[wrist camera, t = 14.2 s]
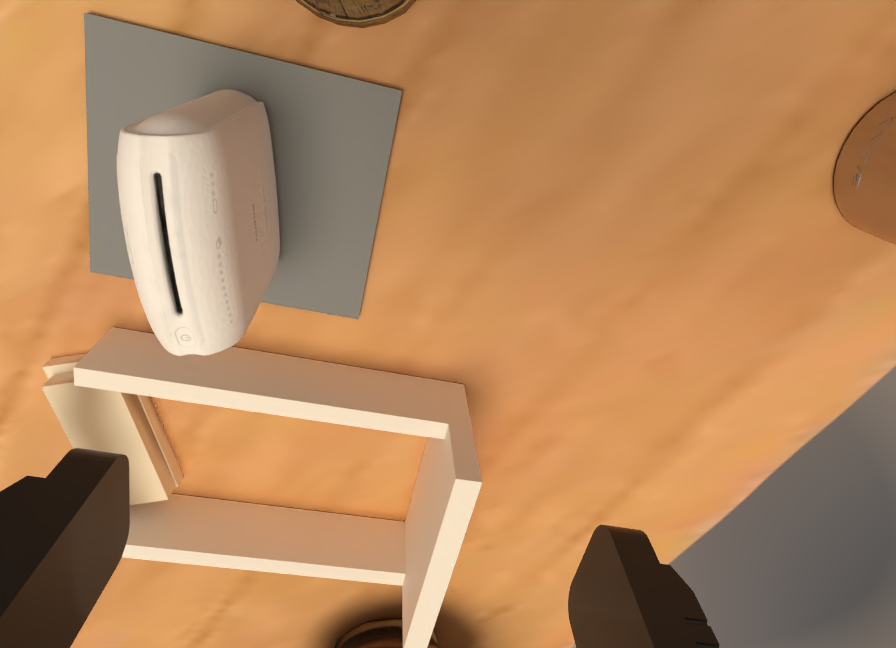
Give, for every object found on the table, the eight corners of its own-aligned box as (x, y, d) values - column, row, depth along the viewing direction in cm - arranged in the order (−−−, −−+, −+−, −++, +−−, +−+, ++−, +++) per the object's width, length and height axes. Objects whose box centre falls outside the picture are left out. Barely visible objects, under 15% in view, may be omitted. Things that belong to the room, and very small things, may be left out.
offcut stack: (131, 344, 38) (111, 367, 36) (185, 472, 43) (170, 501, 40) (54, 355, 38) (28, 379, 36) (117, 482, 43) (98, 512, 40)
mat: (402, 90, 32) (402, 90, 32) (358, 315, 38) (358, 319, 38) (89, 13, 30) (84, 12, 29) (94, 268, 35) (90, 271, 35)
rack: (463, 384, 41) (482, 482, 32) (420, 534, 47) (425, 652, 38) (112, 327, 37) (22, 420, 28) (113, 499, 43) (39, 621, 34)
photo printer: (287, 271, 36) (238, 377, 25) (215, 270, 36) (132, 377, 24) (273, 90, 31) (206, 122, 20) (190, 86, 31) (75, 117, 20)
